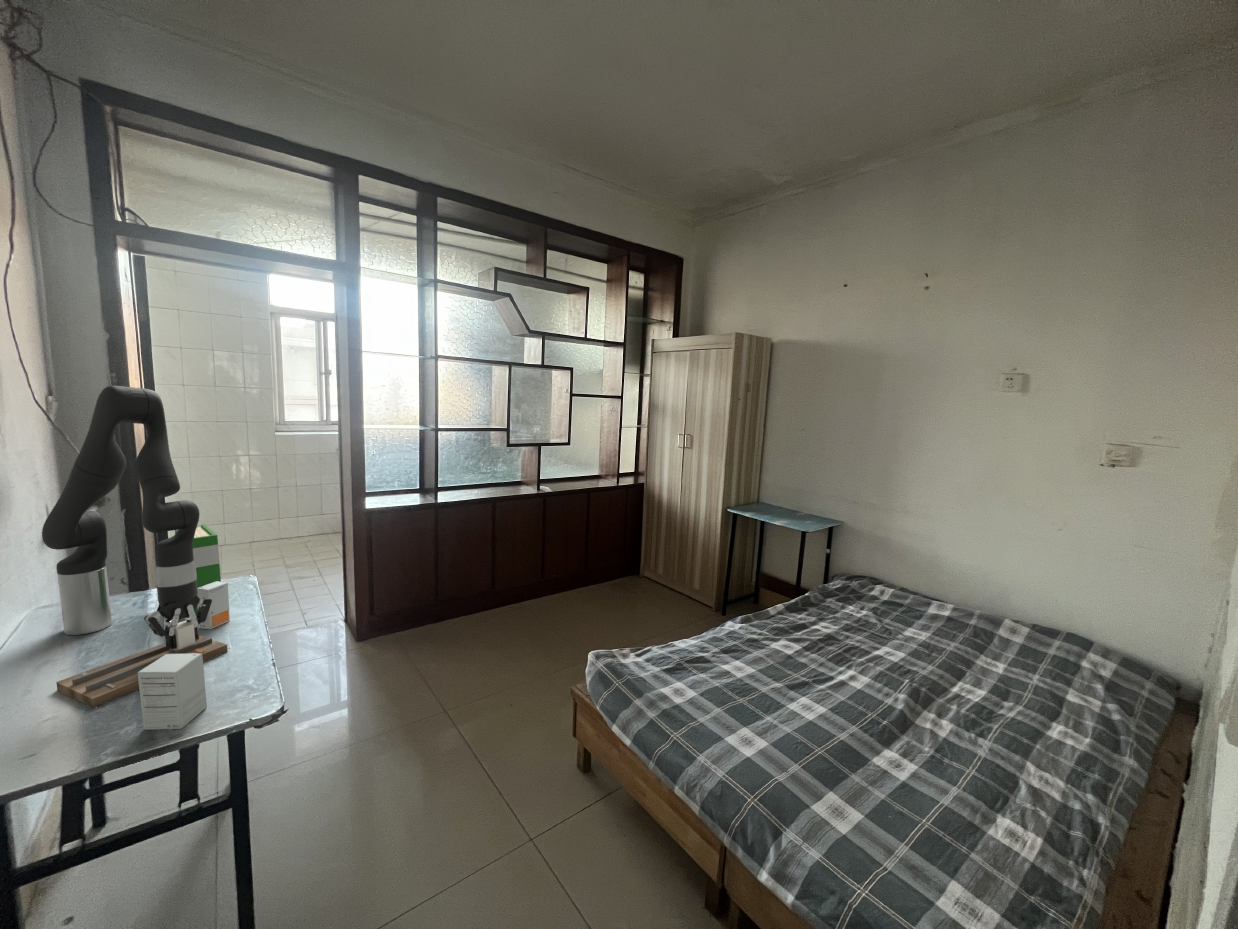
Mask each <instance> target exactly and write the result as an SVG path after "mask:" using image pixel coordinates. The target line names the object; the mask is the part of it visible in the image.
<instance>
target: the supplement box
mask: <svg viewBox="0 0 1238 929" xmlns="http://www.w3.org/2000/svg"><path fill="white" fill-rule="evenodd" d="M204 671H205V670H204V662H203V657H202V654H198V653H191V654H165V655H164V656H162V657H161V658H159V659H158V660H156V661H155V662H153V663H152V664H150V665H148V666H147V667H145V668H144V669H142V670H141V671H139V672H138V681H139V689H138V690H139V696H140V698H139V699H140V707H141V708H140V709H141V716H142V717H141V718H142V725H143V730H153V731H154V730H177V729H178V730H180V729H183V728H184V727H185V726H186V725H188V724H189V723H190V722H191V721H193V720H194V719H195V718H196V717H197V716H198V715H199V714H200V713H202V711H204V710H205V709H206V708H207V707H208V703H207V693H206V690H207V689H206V682H205V672H204Z"/></svg>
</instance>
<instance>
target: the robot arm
mask: <svg viewBox="0 0 1238 929" xmlns="http://www.w3.org/2000/svg"><path fill="white" fill-rule="evenodd" d="M166 421H167V420H166V415H165V409H164V404H163V402H162V399H161V397H160V395H159V393H157V391H155V390H152V389H149V388H142V387H135V386H134V387H133V386H122V385H108V386H105V387H104V388H103V389H102V390H101V392H100V393H99V394H98V397H97V400H96V403H95V405H94V410H93V413H92V417H91V421H90V424H89V428H88V431H87V434H86V437H85V439H84V442H83V444H82V446H81V449H80V451H79V452H78V454H77V456H76V459H75V462H74V463H73V465H72V468H71V471H70V474H69V476H68V479H67V481H66V483H65V486H64V488H63V489H62V492H61V493H60V495H59V498H58V499H57V502H56V503H55V504H54V506H53V507H52V509H51V511H50V512H49V514H48V516H47V517H46V519H45V521H44V523H43V526H42V529H41V538H42V541H43V543H44V545H45V546H46V547H47V548H49V549H52V550H56V551H59V550H68V549H73V548H76V549H75V551H74V552H72V553H71V554H69V555H68V556H66V557H64V558H62V559H61V560H59V561H58V562H57V563H56V574H57V583H58V589H59V590H58V591H59V598H60V600H59V601H60V606H61V615H62V625H63V632H64V635H67V636H80V635H81V636H82V635H86V634H91V633H95V632H98V631H100V630H104V629H106V628H108V627H109V626H111V625H112V623H113V619H112V611H111V599H110V598H111V597H110V592H109V591H110V590H109V582H108V581H109V580H108V572H107V561H106V560H107V557H108V532H107V531H108V530H107V524H106V521H105V518H104V517H103V515H102V514H101V513H99V512H98V511H95V510H88V509H89V508H91V507H92V506H94V505H95V504H96V503H98V502H99V501H100V500H102V499H103V498H104V497H106V496H107V495H108V494H110V493H111V492H112V491H113V490H114V489H115V488H116V487H117V486H118V485H119V483H120V481H121V479H122V476H123V474H124V473H125V470H126V469H127V468H126V467H127V459H126V456H125V454H124V453H123V450H122V449H121V447H120V446H119V444H118V443H117V440H116V438H115V431H116V429H117V426H119V424H138V425H140V424H141V425H143V426H144V428H145V431H146V439H145V441H144V443H143V445H142V448H141V450H140V451H139V453H138V455H137V457H136V460H135V464H134V467H135V473H136V476H137V478H138V479H137V480H138V482H139V484H140V489H141V493H142V511H141V523H142V526H143V527H144V529H145V530H146V531H148V532H150V533H153V534H160V533H165V532H170V531H172V532H173V531H175V530H178V531H177V533H176V534H175V533H174V535H173V536H171V537H169V538H165V539H162V540H161V541H159V542H157V543H156V544H155V546H154V556H155V557H154V558H155V566H156V567H155V568H156V569H155V581H156V582H155V583H156V592H157V594H156V595H157V600H158V601H157V602H158V606H157V609H156V611H155V612H154V613H151V614H150V615H148V614H147V615H145V616H144V617H143V620H144V622H145V623H146V625H147V626H148V627H149V628H150V630H151V631H152V633H153V634H154V635H155V636H159V637H161V638H162V637H164V639H165V642H166V646H167V647H169V648H170V649H175V648H177V642H176V635H175V629H176V626H177V625H178V623H179V621H180V620H182V619H184V621H186V622H189V623H192V624H194V632H195V641H196V638H198V634H199V630H198V627H199V624H200V623H202V622H205V621H206V618H207V615H208V612H209V609H210V606H211V603H212V600H211V599H208V598H202V599H200V598H199V597H198V596H197V594H198V589H197V577H196V576H197V573H196V567H195V564H194V557H193V540H194V535H195V531H196V528H197V527H198V524H199V521H200V509H199V507H198V505H197V504H196V503H195V502H193V501H192V500H188V499H186V500H185V499H183V500H178V501H177V500H176V501H169V502H168V501H167V502H163V503H161V502H160V500H161V499H163V498H168V497H170V496H173V495H176V494H177V493H178V492H179V491H180V489H181V484H180V481H179V478H178V475H177V473H176V468H175V466H174V464H173V460H172V457H171V452H170V446H169V439H168V436H169V435H168V428H167V422H166ZM197 605H198V606H199V608H198V611H197V614H195V612H194V610H195V608H196V607H197ZM160 617H163V618H164V620H163V625H164V626H162V625H161V624H160V621H161V620H160Z"/></svg>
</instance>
